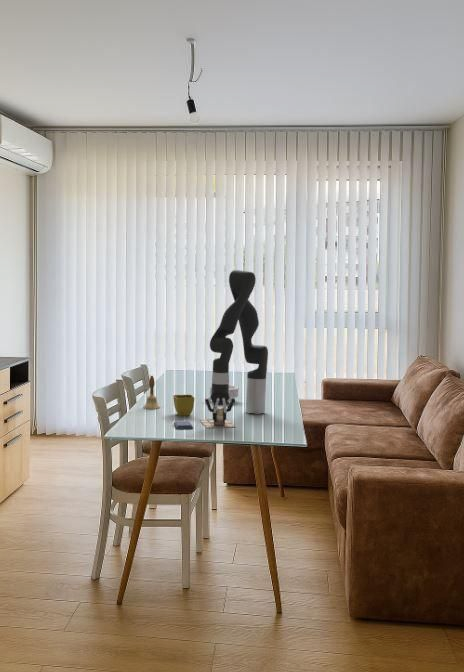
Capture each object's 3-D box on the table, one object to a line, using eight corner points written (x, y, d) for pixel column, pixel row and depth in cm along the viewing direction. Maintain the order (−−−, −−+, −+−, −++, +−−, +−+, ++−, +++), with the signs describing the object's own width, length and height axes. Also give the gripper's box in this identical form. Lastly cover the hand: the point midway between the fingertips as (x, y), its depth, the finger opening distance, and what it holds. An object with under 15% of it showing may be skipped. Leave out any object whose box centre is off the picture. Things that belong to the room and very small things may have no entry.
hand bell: (149, 409, 317) (149, 377, 316) (140, 407, 323) (140, 375, 322) (163, 408, 322) (164, 376, 321) (154, 405, 328) (154, 374, 327)
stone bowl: (238, 404, 338) (238, 389, 337) (208, 403, 338) (209, 388, 337) (238, 399, 353) (238, 384, 352) (210, 398, 353) (210, 384, 352)
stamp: (212, 423, 287) (212, 407, 287) (223, 423, 289) (223, 407, 288) (215, 425, 283) (215, 410, 282) (226, 425, 284) (226, 409, 283)
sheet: (199, 420, 296) (199, 419, 296) (227, 419, 299) (227, 418, 299) (206, 428, 280) (206, 427, 280) (235, 427, 283) (235, 426, 283)
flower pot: (175, 417, 302) (176, 398, 301) (172, 413, 310) (173, 394, 309) (194, 416, 304) (194, 397, 303) (190, 412, 313) (191, 394, 312)
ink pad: (173, 424, 286) (173, 421, 285) (189, 424, 287) (189, 420, 287) (176, 429, 277) (176, 425, 277) (192, 428, 278) (192, 425, 278)
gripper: (234, 380, 289) (232, 418, 291) (203, 381, 286) (202, 419, 288) (237, 383, 282) (236, 422, 284) (206, 383, 279) (205, 423, 280)
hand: (219, 420), depth 286 cm, fingers closed on stamp, 3 cm apart
